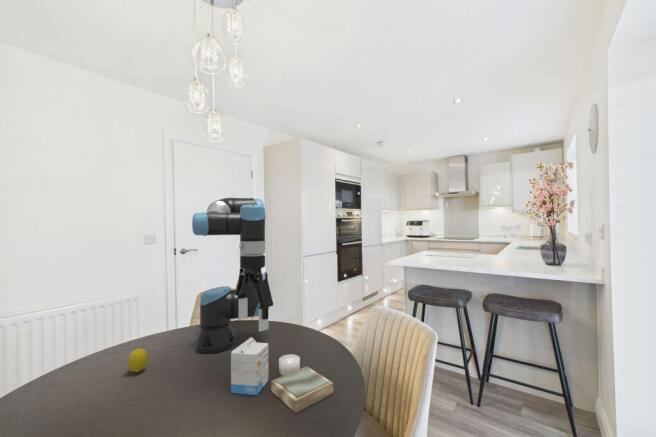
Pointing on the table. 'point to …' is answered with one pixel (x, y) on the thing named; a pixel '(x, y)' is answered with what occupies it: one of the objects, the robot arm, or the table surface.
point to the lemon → (137, 360)
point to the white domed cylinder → (289, 364)
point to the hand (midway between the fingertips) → (252, 324)
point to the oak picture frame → (301, 388)
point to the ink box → (249, 367)
